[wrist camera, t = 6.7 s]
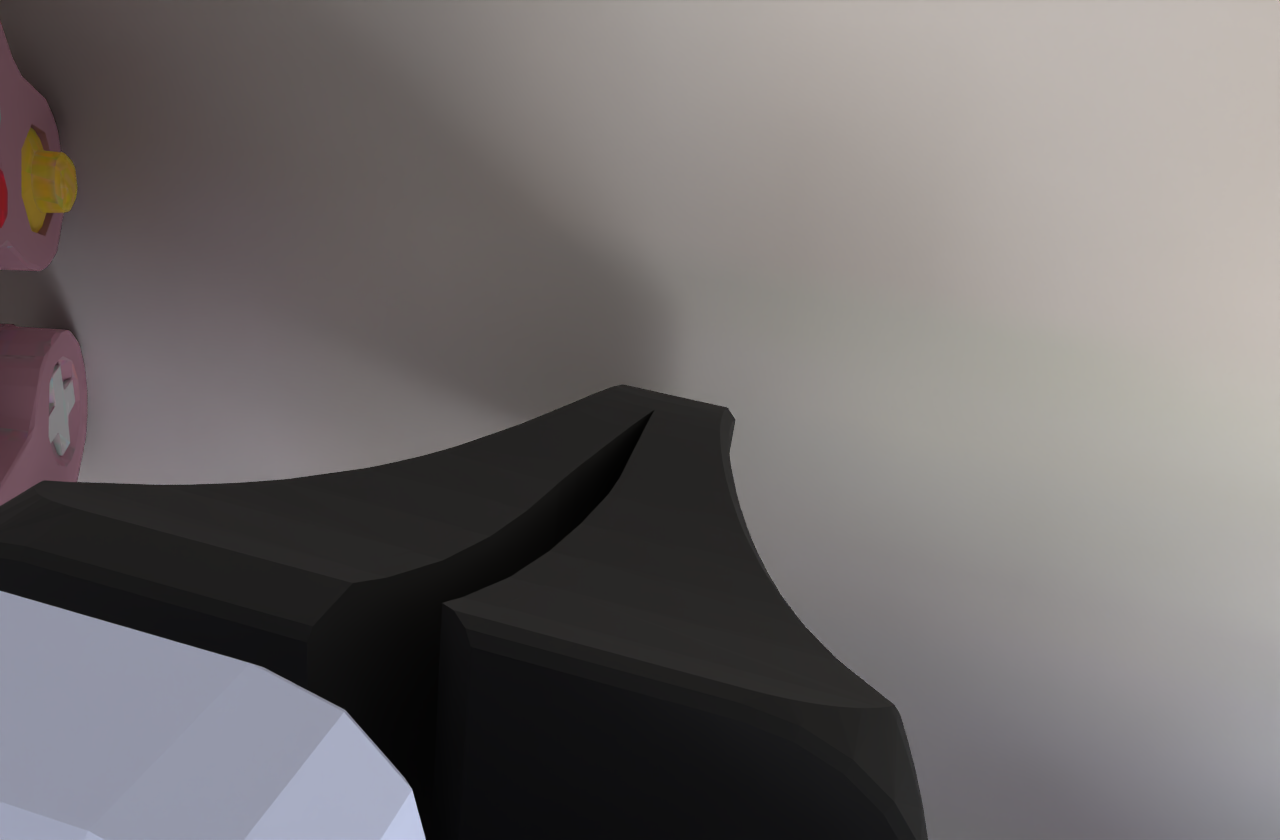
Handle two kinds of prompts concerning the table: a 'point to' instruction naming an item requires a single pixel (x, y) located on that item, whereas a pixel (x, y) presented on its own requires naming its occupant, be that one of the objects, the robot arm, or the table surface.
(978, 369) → the table surface
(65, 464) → the video game controller
